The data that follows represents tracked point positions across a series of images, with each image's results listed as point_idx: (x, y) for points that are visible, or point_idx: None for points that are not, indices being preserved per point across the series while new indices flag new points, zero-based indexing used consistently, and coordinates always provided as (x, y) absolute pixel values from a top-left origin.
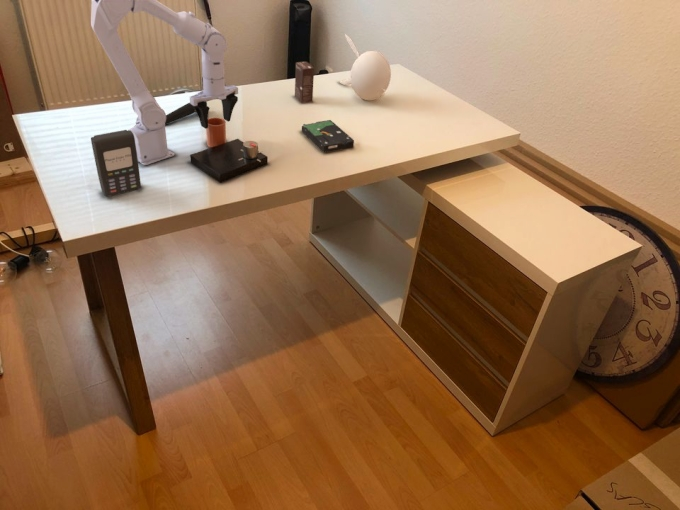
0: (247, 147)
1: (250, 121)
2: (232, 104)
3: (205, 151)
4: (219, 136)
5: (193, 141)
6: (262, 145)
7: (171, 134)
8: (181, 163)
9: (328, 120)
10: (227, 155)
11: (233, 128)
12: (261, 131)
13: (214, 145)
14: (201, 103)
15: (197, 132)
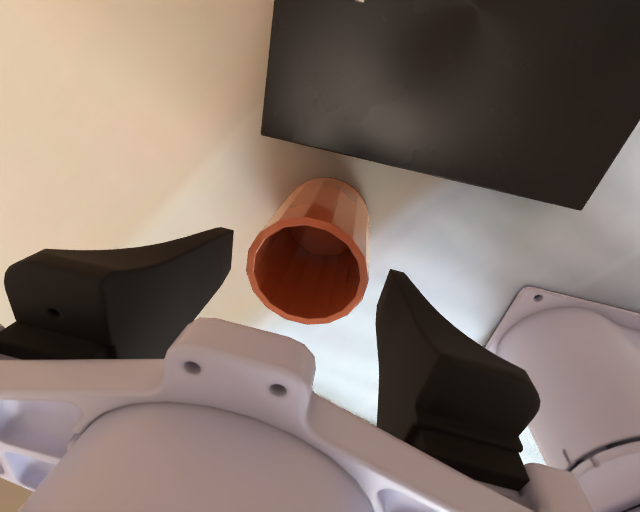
0: None
1: (81, 238)
2: (133, 261)
3: (501, 171)
4: (342, 202)
5: (368, 301)
6: (168, 29)
7: (374, 378)
8: (576, 225)
9: None
10: (482, 19)
11: None
12: (87, 143)
13: (364, 206)
14: (471, 454)
15: (301, 328)
